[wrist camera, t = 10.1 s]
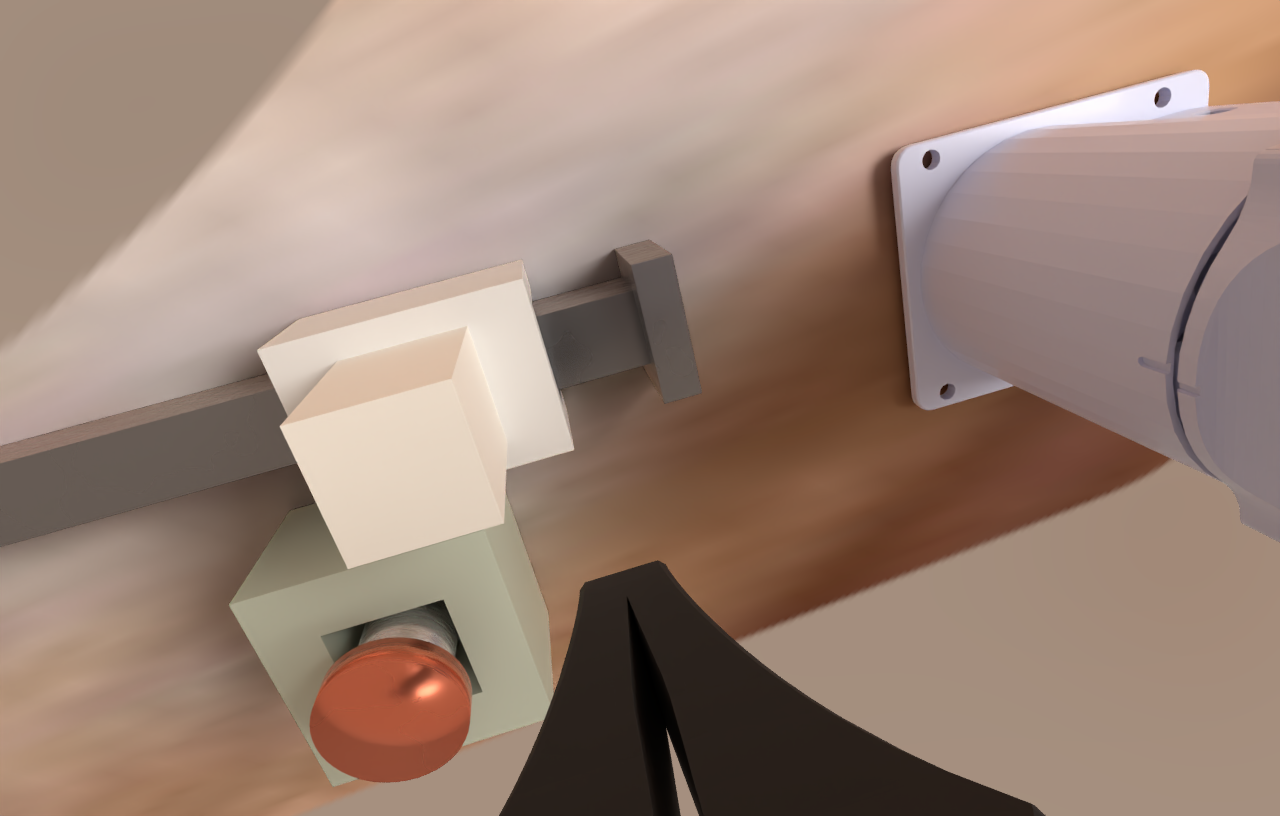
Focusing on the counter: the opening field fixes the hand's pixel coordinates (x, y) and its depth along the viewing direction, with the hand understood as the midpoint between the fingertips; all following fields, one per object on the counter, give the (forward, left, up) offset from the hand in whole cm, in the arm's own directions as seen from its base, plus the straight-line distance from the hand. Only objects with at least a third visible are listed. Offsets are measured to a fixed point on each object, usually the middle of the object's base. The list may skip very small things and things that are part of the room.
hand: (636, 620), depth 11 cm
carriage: (+3, -3, -10) cm, 11 cm away
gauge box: (+6, +3, -10) cm, 12 cm away
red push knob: (+6, +4, -9) cm, 11 cm away
